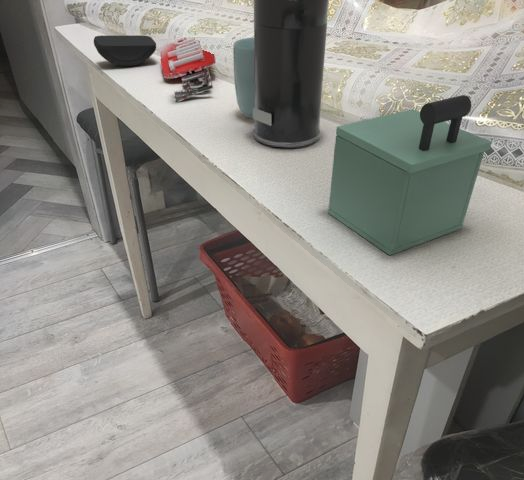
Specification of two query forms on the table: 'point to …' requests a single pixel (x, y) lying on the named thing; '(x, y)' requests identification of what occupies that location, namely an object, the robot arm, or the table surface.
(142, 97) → the table surface
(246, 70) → the cup
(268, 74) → the robot arm
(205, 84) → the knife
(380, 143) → the green square slab
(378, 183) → the green storage box
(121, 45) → the computer mouse
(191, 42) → the logo
